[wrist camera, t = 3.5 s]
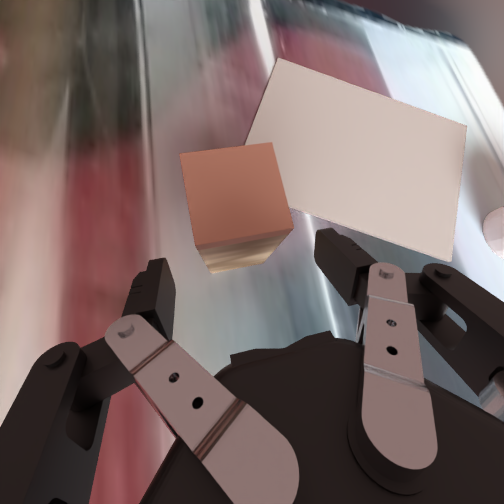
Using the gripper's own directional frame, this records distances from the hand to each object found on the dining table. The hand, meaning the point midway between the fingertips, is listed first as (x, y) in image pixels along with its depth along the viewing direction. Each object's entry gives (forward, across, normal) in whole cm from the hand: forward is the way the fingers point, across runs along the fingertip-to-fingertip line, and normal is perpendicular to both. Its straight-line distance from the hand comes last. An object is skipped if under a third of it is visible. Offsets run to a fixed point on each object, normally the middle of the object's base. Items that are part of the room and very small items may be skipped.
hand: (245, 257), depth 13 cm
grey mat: (+12, -14, -1) cm, 19 cm away
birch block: (+8, 0, +4) cm, 8 cm away
